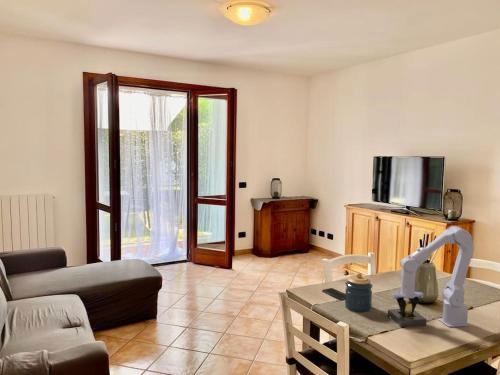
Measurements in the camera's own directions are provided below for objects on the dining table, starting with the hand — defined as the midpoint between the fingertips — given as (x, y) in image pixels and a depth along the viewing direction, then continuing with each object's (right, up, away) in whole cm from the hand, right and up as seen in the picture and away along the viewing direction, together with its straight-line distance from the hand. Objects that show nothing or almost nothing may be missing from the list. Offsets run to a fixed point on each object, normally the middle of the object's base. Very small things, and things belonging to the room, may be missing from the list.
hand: (406, 312), depth 173 cm
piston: (0, -2, 0) cm, 2 cm away
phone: (-25, -1, +32) cm, 41 cm away
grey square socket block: (0, -4, 0) cm, 4 cm away
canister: (-18, -2, +15) cm, 24 cm away
